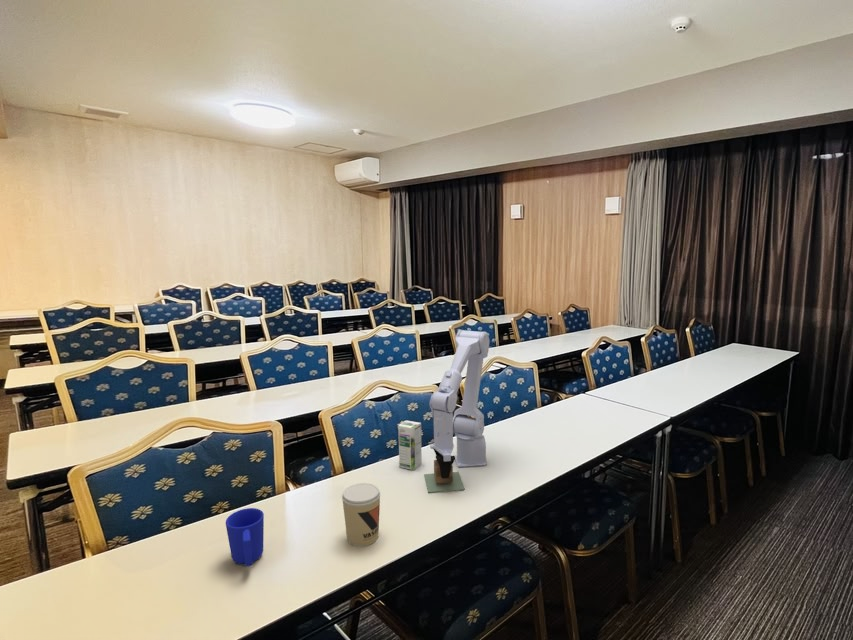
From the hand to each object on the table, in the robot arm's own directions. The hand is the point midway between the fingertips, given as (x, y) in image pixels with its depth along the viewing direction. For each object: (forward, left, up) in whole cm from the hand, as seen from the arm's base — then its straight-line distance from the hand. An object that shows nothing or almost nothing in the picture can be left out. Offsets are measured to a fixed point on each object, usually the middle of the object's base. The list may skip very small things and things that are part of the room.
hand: (443, 473), depth 141 cm
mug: (+50, +30, -3) cm, 58 cm away
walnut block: (0, 0, -2) cm, 2 cm away
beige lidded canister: (+24, +24, -3) cm, 34 cm away
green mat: (0, 0, -3) cm, 3 cm away
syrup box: (+9, -13, -3) cm, 16 cm away
